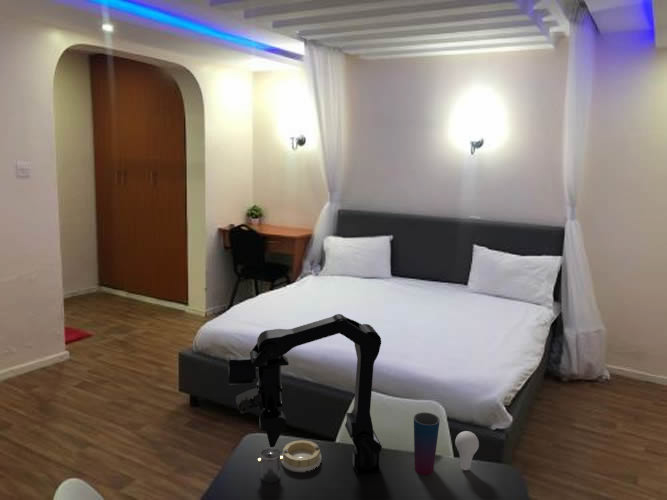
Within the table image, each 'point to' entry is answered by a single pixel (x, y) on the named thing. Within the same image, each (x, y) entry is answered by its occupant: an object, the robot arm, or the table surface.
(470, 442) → the lightbulb
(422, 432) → the cup
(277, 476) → the bayonet cap
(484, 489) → the table surface
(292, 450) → the ring
